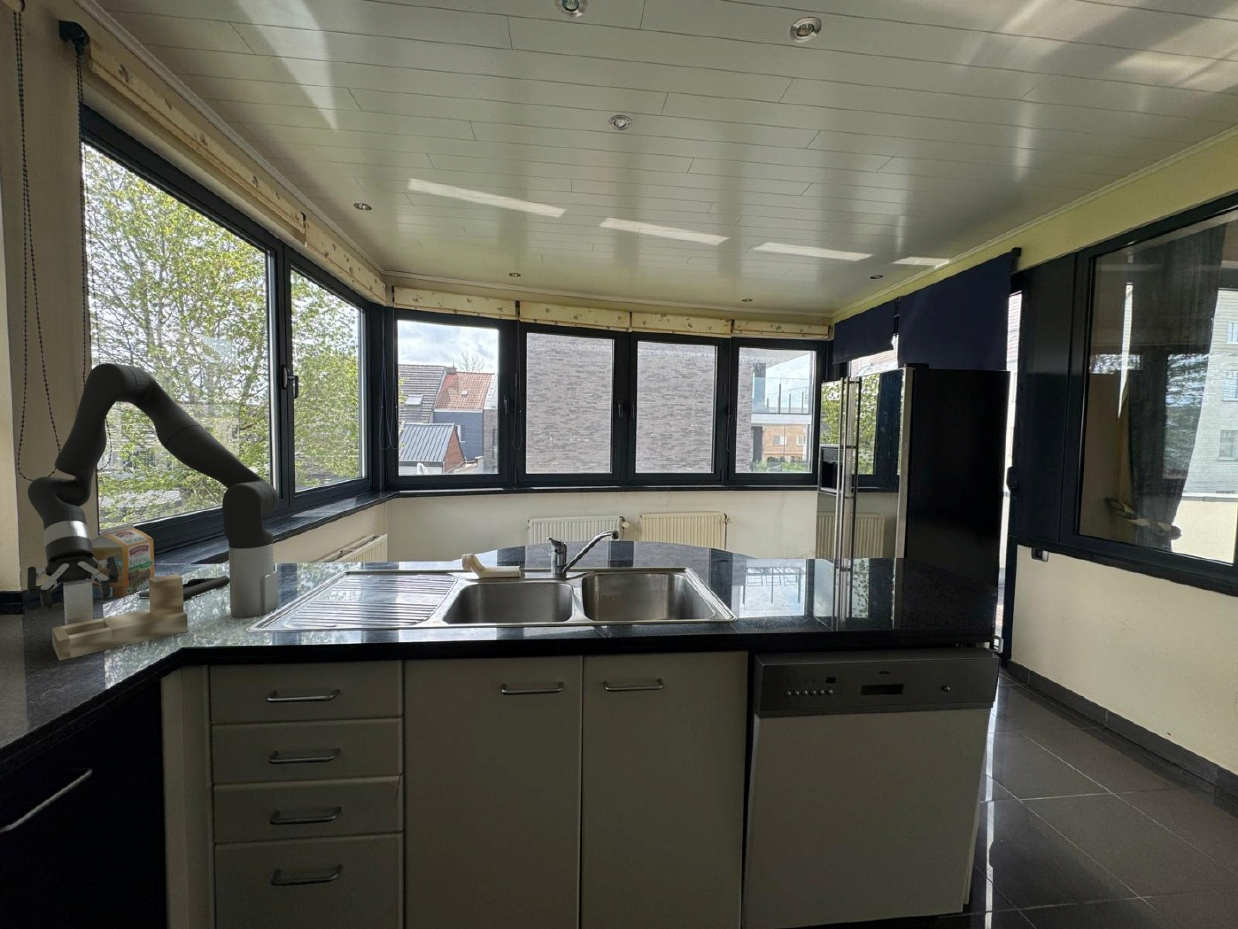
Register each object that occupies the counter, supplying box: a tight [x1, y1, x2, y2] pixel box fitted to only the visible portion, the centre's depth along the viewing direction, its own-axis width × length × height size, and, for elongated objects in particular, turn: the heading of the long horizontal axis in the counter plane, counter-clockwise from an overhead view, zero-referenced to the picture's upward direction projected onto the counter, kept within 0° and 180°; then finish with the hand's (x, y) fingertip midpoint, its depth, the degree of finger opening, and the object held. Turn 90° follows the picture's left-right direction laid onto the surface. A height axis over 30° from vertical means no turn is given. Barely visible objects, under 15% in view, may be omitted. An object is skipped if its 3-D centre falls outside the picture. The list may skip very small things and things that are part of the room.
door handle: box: [138, 575, 230, 602], centre depth 145 cm, size 3×20×16 cm
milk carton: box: [91, 523, 156, 599], centre depth 145 cm, size 11×11×19 cm
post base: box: [51, 573, 189, 661], centre depth 113 cm, size 20×11×12 cm, turn 143°
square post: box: [62, 579, 95, 626], centre depth 114 cm, size 4×4×12 cm
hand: (78, 602), depth 115 cm, fingers open, 8 cm apart
